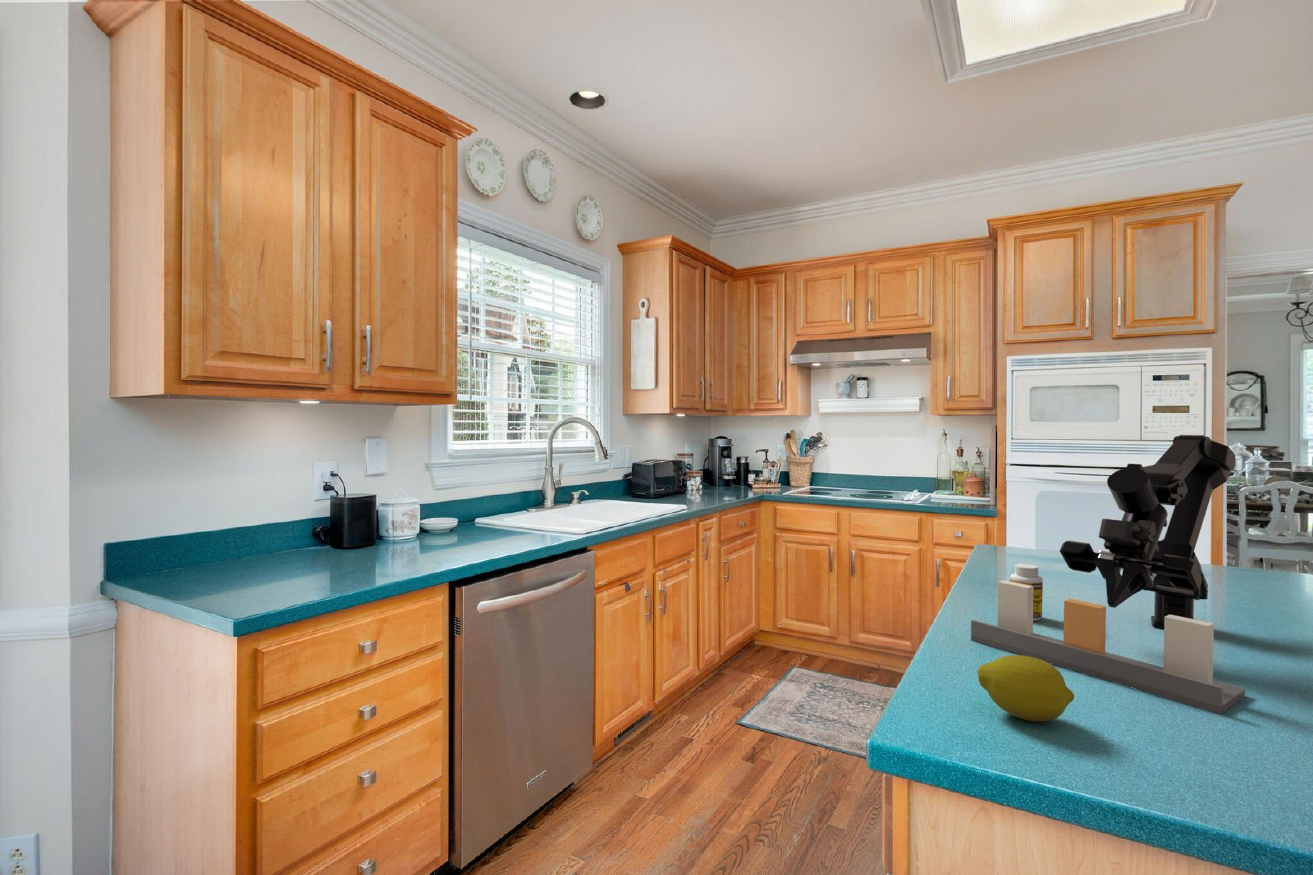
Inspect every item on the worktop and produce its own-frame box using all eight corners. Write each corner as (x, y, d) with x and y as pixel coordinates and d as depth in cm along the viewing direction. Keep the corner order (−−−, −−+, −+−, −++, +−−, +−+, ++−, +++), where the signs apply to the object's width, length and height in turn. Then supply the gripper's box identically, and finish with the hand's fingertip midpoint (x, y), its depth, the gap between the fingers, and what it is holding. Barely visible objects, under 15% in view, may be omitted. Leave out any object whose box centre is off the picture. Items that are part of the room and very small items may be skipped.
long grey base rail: (1001, 629, 117) (1001, 610, 117) (1245, 695, 89) (1245, 671, 89) (971, 640, 112) (971, 620, 112) (1220, 714, 83) (1221, 688, 83)
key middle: (1069, 654, 101) (1070, 598, 101) (1105, 664, 97) (1106, 606, 97) (1063, 657, 100) (1064, 600, 100) (1099, 667, 96) (1100, 608, 96)
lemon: (1077, 719, 82) (1078, 658, 82) (1068, 742, 76) (1069, 676, 76) (986, 695, 89) (986, 639, 89) (971, 715, 83) (971, 655, 83)
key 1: (1003, 630, 113) (1004, 580, 113) (1032, 638, 109) (1033, 586, 109) (997, 632, 112) (998, 581, 112) (1026, 640, 108) (1027, 588, 107)
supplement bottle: (1033, 623, 121) (1034, 570, 120) (1003, 616, 125) (1004, 564, 125) (1047, 618, 124) (1048, 566, 123) (1018, 611, 128) (1019, 561, 128)
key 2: (1168, 675, 93) (1169, 614, 93) (1212, 687, 89) (1213, 623, 89) (1163, 678, 92) (1164, 616, 92) (1207, 690, 88) (1208, 626, 87)
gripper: (1064, 495, 114) (1033, 565, 108) (1196, 507, 98) (1167, 590, 92) (1084, 533, 118) (1055, 603, 113) (1213, 550, 103) (1187, 632, 97)
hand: (1111, 605), depth 104 cm, fingers closed
